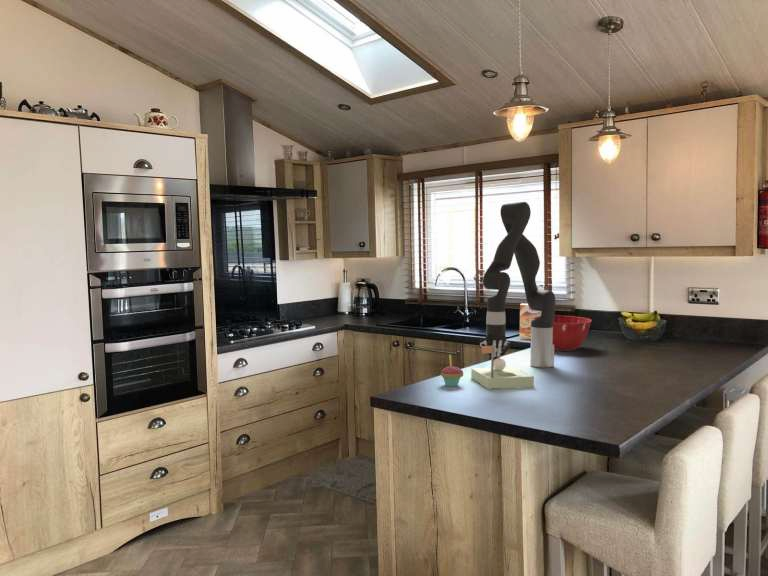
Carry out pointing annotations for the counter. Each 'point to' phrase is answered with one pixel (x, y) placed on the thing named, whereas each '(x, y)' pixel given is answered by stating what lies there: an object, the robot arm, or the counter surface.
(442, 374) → the cupcake
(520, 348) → the counter surface
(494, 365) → the ball
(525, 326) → the coffeecake box
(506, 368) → the board
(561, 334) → the mixing bowl
